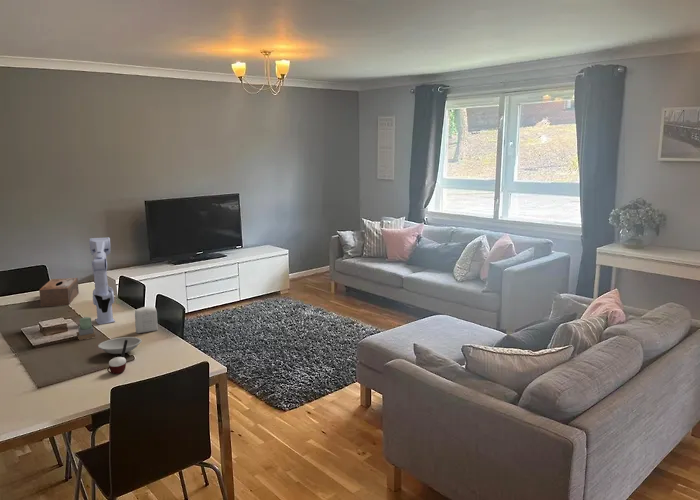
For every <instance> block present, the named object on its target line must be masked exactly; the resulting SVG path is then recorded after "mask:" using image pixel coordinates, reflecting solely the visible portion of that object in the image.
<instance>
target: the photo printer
mask: <svg viewBox="0 0 700 500" xmlns="http://www.w3.org/2000/svg"><path fill="white" fill-rule="evenodd" d="M134 321H135V322H134V325H135V333H136V334H142V333H148V332H149V333H150V332H155V331H158V312H157V308H156V307H155V306H143V307H142V306H141V307H140V308H137V309H135V310H134Z"/></svg>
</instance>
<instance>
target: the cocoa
mask: <svg viewBox="0 0 700 500" xmlns="http://www.w3.org/2000/svg"><path fill="white" fill-rule="evenodd" d="M127 342H128V340H125V342H124V346H123V350H122V354H120V355H121V356H117V357H116V356H115V357H113V358H112V359H110V360H109V361H108V367H107V368H106V369H107V370H106V371H107V372H108V373H109V374H114V375H118V374H122V373H123V372H124V371H125V370H126V366H127V359H126V358H125V351H126V346H127Z"/></svg>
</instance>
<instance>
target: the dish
mask: <svg viewBox="0 0 700 500" xmlns="http://www.w3.org/2000/svg"><path fill="white" fill-rule="evenodd" d="M125 340H128V342H127V346H126V351H125V353H128V352H131V351H133V350H134V349H135V348H137V347H138V345H140V344H141V343H142V341H143V340H142V338H139V337H136V336H125V337H124V336H123V337H117V338H111V339H108V340H104V341H102V342H100V343H98V345H97V347H98V349H101V350H102V351H103V352H105V353H107V354H112V355H118V354H119V355H122V350H123V346H124V342H125Z"/></svg>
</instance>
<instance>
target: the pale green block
mask: <svg viewBox="0 0 700 500" xmlns="http://www.w3.org/2000/svg"><path fill="white" fill-rule="evenodd" d="M78 321H79V327H80V329H82V330H86V329H90V328H92V326H93V325H92V324H93V323H92V317H89V316H86V317H81V318H79V320H78Z"/></svg>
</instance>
